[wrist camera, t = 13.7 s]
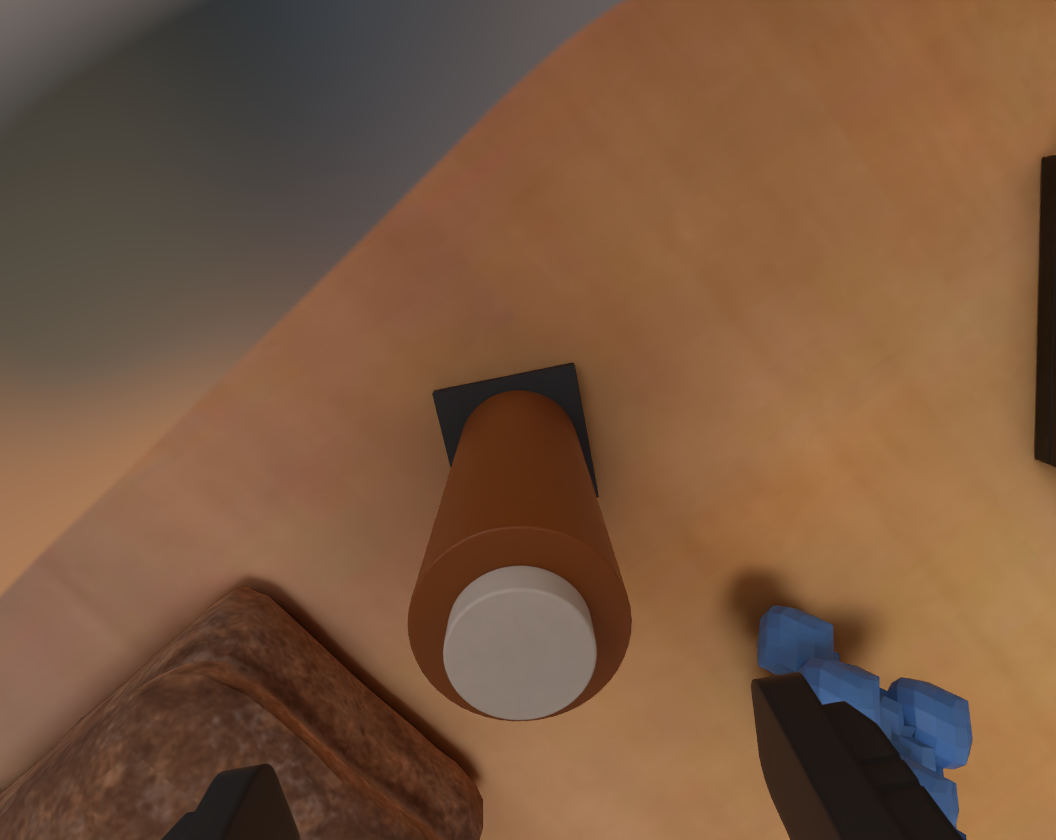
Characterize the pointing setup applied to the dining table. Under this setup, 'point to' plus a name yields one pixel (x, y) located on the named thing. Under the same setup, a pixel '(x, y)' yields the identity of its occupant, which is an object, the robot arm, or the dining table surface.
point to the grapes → (874, 699)
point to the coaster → (549, 382)
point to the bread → (243, 744)
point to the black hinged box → (1047, 320)
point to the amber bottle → (519, 570)
